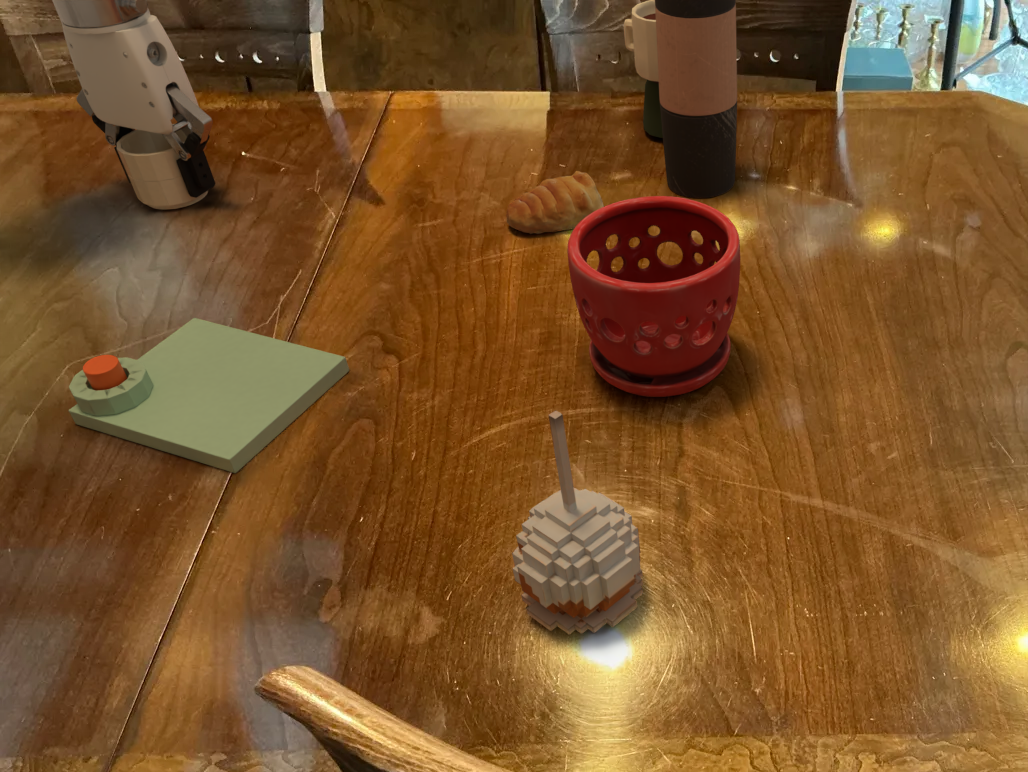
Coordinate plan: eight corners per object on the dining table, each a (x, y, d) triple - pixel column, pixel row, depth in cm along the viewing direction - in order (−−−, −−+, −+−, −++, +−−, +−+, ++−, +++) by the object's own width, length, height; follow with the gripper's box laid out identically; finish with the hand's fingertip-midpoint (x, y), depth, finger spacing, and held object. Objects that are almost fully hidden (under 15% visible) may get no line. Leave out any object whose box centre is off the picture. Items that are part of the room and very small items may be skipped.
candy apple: (586, 535, 75) (559, 357, 64) (667, 588, 71) (652, 409, 61) (500, 599, 71) (457, 420, 60) (582, 658, 67) (550, 479, 57)
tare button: (84, 388, 84) (74, 369, 83) (109, 369, 86) (100, 351, 84) (109, 395, 83) (100, 377, 82) (134, 376, 85) (125, 358, 84)
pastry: (524, 247, 103) (518, 210, 101) (496, 218, 107) (490, 182, 105) (611, 220, 107) (607, 184, 104) (581, 194, 111) (576, 158, 108)
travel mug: (706, 158, 116) (700, -44, 102) (752, 183, 112) (753, -24, 97) (649, 180, 112) (635, -26, 98) (695, 207, 108) (687, -5, 94)
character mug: (729, 130, 121) (727, 7, 112) (694, 154, 117) (689, 29, 107) (649, 109, 125) (642, -10, 116) (613, 132, 121) (602, 10, 112)
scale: (68, 422, 85) (51, 391, 83) (193, 329, 94) (180, 299, 92) (235, 473, 80) (221, 442, 78) (350, 370, 89) (340, 340, 87)
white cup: (124, 204, 111) (100, 148, 107) (175, 174, 115) (153, 119, 111) (179, 217, 109) (156, 160, 104) (228, 185, 113) (208, 130, 109)
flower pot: (551, 362, 90) (531, 231, 81) (675, 305, 96) (668, 177, 87) (646, 437, 82) (635, 302, 74) (773, 370, 88) (776, 238, 80)
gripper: (203, 1, 99) (264, 183, 111) (62, -21, 104) (135, 156, 116) (143, 29, 94) (213, 216, 106) (-2, 5, 99) (81, 186, 111)
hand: (172, 183), depth 111 cm, fingers closed on white cup, 7 cm apart
